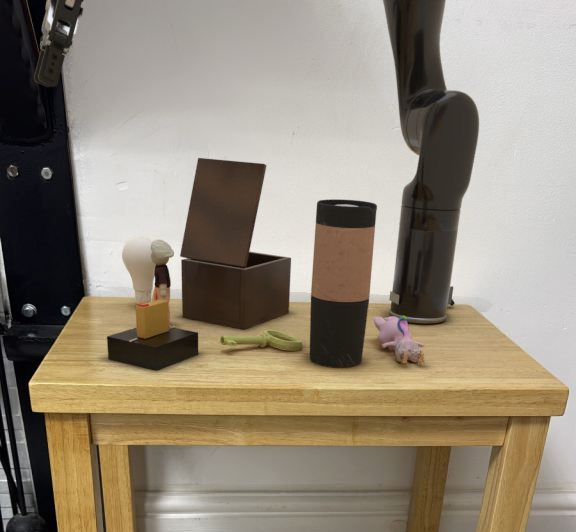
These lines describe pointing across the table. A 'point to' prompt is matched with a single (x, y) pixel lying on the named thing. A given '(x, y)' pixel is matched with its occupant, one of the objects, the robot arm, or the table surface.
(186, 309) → the box
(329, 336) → the travel mug
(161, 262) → the grandmother figurine
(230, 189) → the lockbox lid
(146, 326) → the lock knob
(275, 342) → the key
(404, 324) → the pink toy animal
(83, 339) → the table surface
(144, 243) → the lightbulb
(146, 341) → the plate
